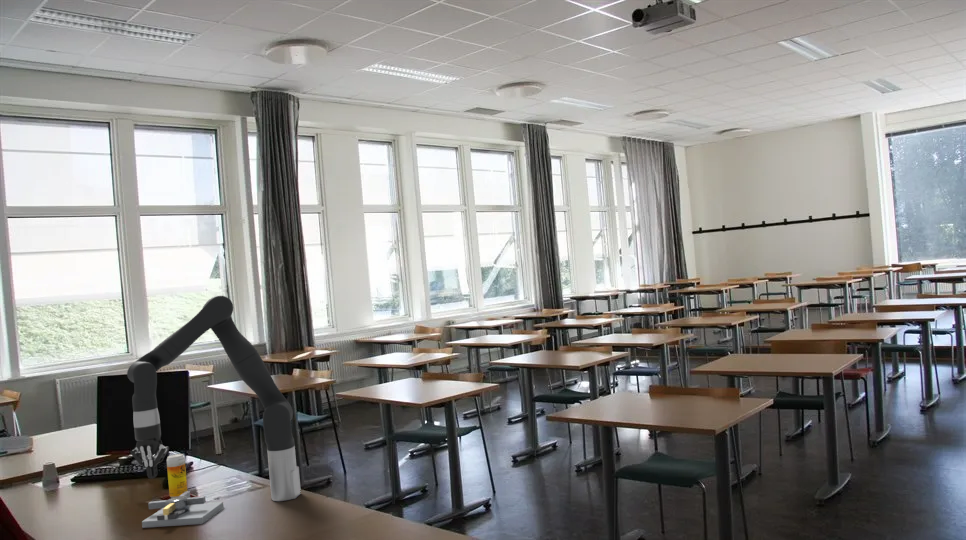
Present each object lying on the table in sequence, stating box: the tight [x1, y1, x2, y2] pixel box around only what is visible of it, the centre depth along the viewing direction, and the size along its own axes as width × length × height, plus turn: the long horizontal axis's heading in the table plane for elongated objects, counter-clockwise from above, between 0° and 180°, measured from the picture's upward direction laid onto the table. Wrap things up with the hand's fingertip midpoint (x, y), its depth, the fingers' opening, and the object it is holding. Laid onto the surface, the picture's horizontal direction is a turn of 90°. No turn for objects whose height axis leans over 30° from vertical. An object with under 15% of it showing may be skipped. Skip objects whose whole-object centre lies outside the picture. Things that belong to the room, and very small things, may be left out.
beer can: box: [166, 453, 188, 499], centre depth 252 cm, size 6×6×15 cm
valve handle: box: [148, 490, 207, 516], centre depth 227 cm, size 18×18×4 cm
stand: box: [141, 501, 225, 529], centre depth 227 cm, size 20×15×3 cm
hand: (152, 477), depth 220 cm, fingers closed
